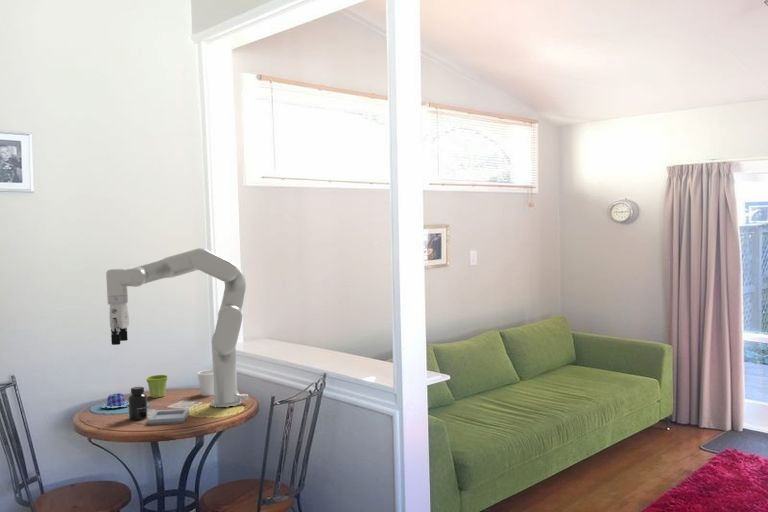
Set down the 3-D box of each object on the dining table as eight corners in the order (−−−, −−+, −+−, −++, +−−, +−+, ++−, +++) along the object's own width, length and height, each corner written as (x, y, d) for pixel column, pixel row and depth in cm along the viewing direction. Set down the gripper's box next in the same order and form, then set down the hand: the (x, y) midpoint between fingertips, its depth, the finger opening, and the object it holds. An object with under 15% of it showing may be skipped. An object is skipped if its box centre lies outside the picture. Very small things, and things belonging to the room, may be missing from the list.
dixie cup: (218, 391, 302) (218, 369, 302) (215, 396, 294) (214, 373, 293) (200, 392, 301) (199, 370, 301) (196, 397, 293) (195, 374, 293)
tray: (189, 413, 265) (189, 408, 265) (183, 422, 252) (183, 417, 252) (155, 415, 263) (155, 410, 263) (147, 425, 250) (147, 419, 250)
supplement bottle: (141, 421, 256) (140, 390, 256) (125, 420, 258) (124, 389, 257) (151, 416, 263) (149, 385, 263) (135, 415, 265) (134, 385, 264)
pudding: (124, 402, 289) (124, 390, 289) (136, 406, 280) (135, 394, 280) (96, 407, 281) (95, 395, 281) (107, 412, 272) (106, 399, 272)
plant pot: (164, 398, 291) (163, 379, 291) (143, 399, 292) (142, 379, 291) (171, 393, 301) (171, 374, 301) (151, 394, 301) (150, 375, 301)
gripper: (120, 301, 258) (123, 345, 259) (133, 297, 275) (135, 338, 276) (100, 302, 257) (103, 346, 258) (114, 298, 275) (116, 339, 275)
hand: (119, 342), depth 267 cm, fingers open, 9 cm apart
